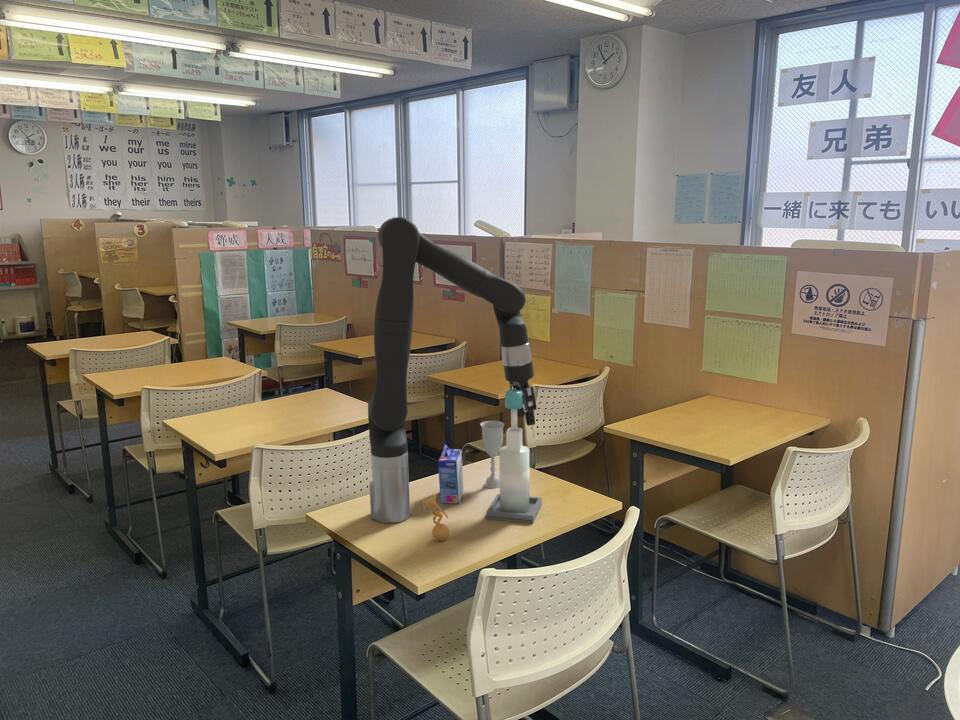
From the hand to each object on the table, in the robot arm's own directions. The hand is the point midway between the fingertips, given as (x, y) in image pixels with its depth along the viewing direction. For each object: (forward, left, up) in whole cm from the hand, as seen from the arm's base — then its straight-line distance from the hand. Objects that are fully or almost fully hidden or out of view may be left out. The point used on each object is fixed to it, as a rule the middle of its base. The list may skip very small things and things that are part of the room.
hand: (525, 420), depth 183 cm
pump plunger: (-2, -7, 0) cm, 8 cm away
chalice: (-12, +10, -23) cm, 27 cm away
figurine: (-16, -28, -23) cm, 39 cm away
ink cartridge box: (-21, -1, -23) cm, 31 cm away
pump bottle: (-2, -7, -23) cm, 24 cm away
